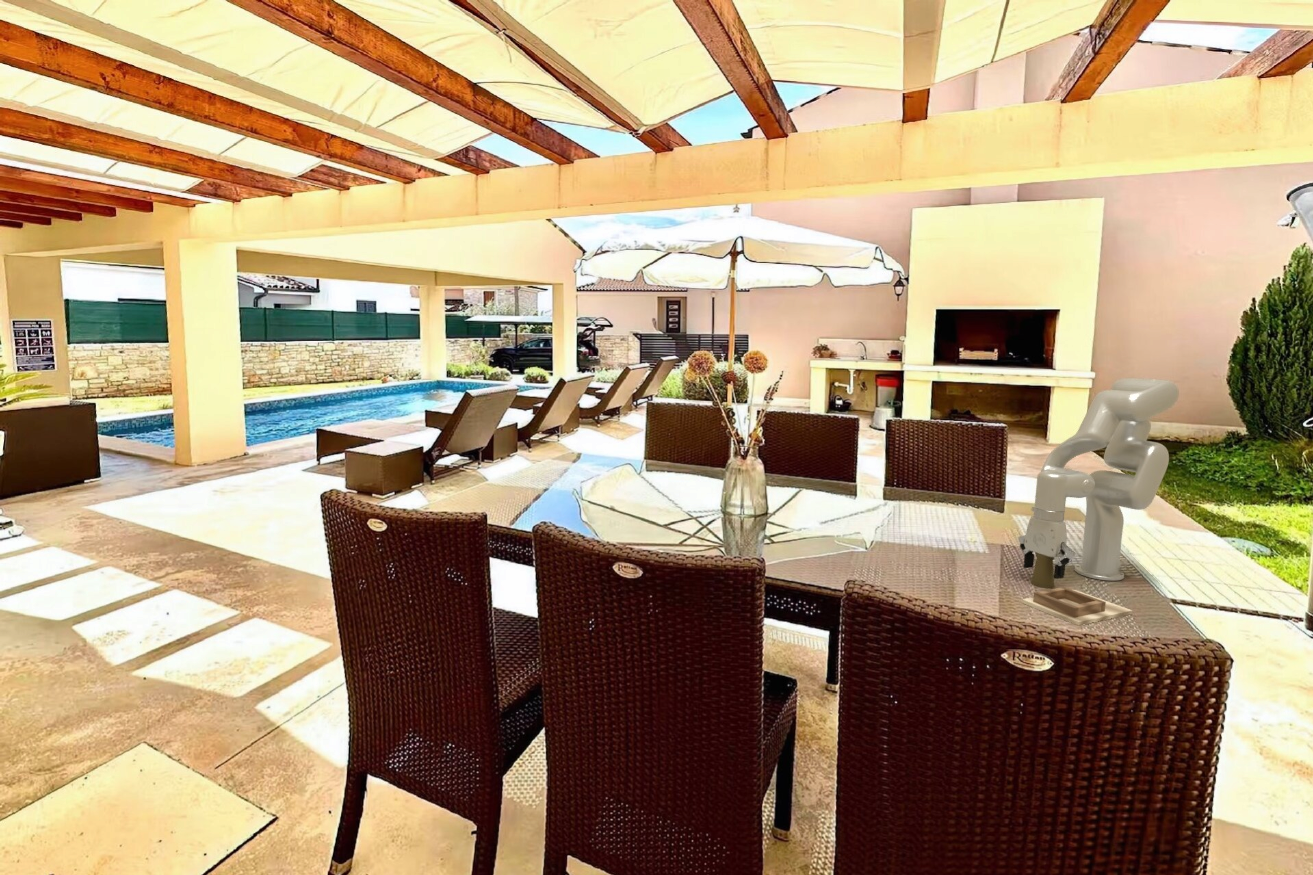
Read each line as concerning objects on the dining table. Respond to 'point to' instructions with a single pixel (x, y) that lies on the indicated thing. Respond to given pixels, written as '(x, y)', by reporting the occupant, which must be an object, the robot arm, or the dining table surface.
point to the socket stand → (1075, 606)
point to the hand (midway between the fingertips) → (1043, 572)
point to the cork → (1043, 572)
